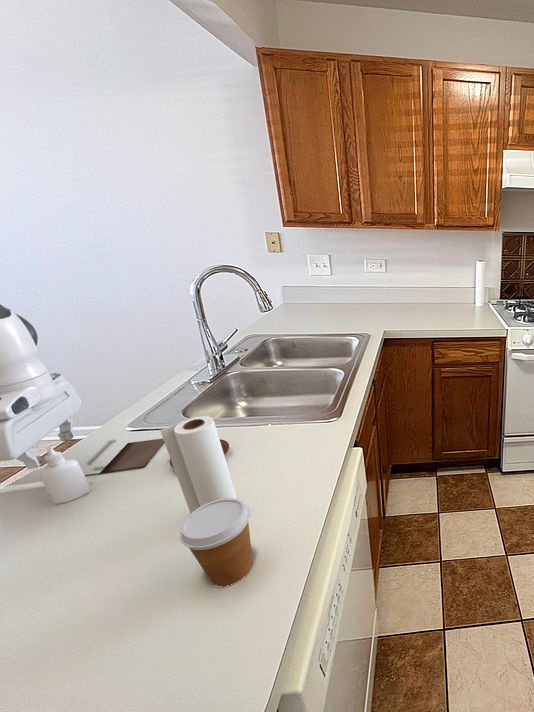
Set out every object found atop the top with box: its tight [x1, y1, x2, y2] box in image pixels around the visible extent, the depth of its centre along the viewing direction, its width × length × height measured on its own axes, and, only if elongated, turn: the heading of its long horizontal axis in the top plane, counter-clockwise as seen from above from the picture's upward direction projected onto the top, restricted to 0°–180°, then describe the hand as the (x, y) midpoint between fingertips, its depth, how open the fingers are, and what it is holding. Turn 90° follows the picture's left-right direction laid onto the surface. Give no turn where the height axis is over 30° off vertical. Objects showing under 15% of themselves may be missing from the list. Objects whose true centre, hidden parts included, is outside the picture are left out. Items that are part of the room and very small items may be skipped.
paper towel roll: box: [159, 415, 238, 514], centre depth 75 cm, size 7×6×21 cm
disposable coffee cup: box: [179, 498, 254, 587], centre depth 65 cm, size 10×10×12 cm
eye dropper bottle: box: [39, 447, 91, 505], centre depth 82 cm, size 4×6×12 cm
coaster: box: [84, 437, 165, 477], centre depth 97 cm, size 12×12×1 cm
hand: (53, 451), depth 80 cm, fingers open, 8 cm apart
